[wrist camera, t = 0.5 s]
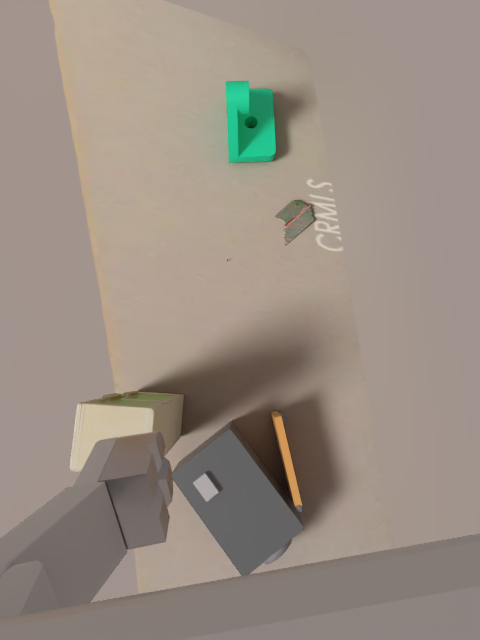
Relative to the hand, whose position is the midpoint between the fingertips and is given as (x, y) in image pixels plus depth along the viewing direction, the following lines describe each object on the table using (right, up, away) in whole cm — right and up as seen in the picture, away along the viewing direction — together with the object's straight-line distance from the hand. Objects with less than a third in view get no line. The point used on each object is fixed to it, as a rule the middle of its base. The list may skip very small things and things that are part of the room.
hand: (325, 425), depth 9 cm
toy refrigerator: (-15, -11, +48) cm, 52 cm away
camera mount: (0, +35, +54) cm, 64 cm away
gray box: (-3, -22, +46) cm, 51 cm away
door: (+5, -18, +47) cm, 50 cm away
